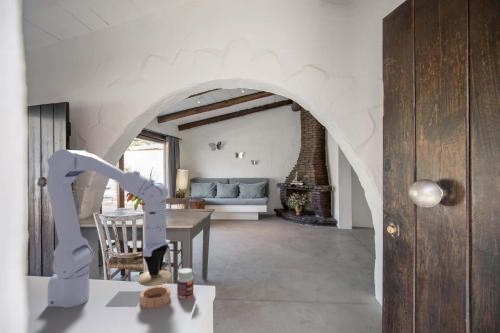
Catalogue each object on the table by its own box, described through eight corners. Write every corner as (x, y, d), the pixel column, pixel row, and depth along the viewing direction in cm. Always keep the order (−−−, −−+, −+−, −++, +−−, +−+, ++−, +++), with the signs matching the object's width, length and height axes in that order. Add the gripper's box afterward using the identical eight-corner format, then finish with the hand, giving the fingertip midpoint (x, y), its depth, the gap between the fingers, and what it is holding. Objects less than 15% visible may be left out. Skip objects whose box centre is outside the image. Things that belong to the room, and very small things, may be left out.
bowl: (135, 311, 73) (135, 299, 73) (146, 296, 81) (146, 285, 81) (165, 311, 73) (165, 299, 73) (173, 296, 81) (173, 285, 81)
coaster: (105, 309, 74) (105, 306, 74) (119, 294, 82) (119, 291, 82) (135, 309, 74) (135, 306, 74) (146, 294, 82) (146, 291, 82)
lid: (132, 285, 73) (132, 269, 72) (145, 272, 82) (145, 257, 81) (165, 286, 73) (166, 269, 73) (174, 272, 82) (174, 257, 82)
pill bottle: (189, 303, 78) (189, 274, 78) (174, 301, 79) (174, 273, 78) (195, 295, 82) (196, 268, 82) (181, 293, 83) (181, 266, 83)
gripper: (162, 232, 70) (161, 284, 70) (175, 220, 84) (175, 263, 84) (134, 232, 70) (134, 284, 70) (153, 220, 84) (153, 263, 84)
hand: (155, 272), depth 77 cm, fingers closed on lid, 2 cm apart
